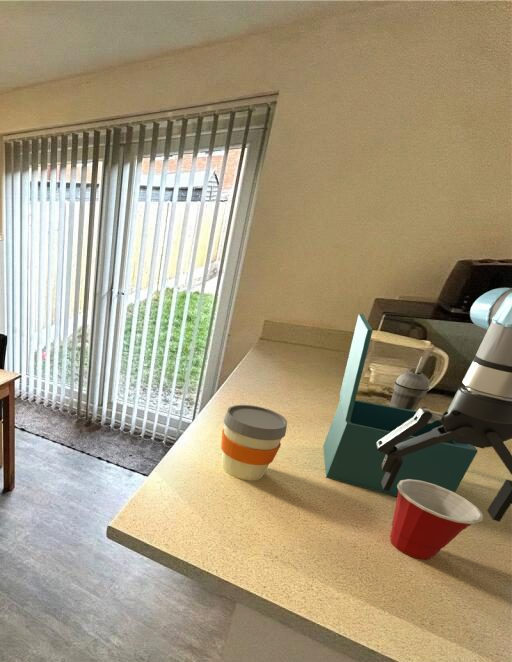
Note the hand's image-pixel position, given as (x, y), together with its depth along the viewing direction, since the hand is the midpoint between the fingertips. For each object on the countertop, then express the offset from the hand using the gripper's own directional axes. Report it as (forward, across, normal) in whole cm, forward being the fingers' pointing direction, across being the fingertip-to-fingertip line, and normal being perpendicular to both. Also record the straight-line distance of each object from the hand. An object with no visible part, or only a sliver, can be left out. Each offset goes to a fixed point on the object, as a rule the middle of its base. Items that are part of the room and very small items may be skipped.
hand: (436, 500), depth 69 cm
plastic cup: (+12, 0, 0) cm, 12 cm away
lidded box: (+11, +2, -26) cm, 29 cm away
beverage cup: (+11, -7, -65) cm, 66 cm away
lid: (-15, +13, -26) cm, 33 cm away
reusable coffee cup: (+12, +29, -11) cm, 33 cm away
